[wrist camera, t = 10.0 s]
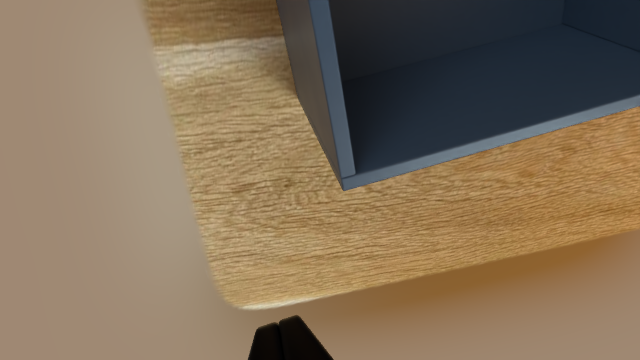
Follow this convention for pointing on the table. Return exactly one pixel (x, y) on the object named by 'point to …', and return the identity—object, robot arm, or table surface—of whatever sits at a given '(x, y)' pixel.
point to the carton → (453, 75)
